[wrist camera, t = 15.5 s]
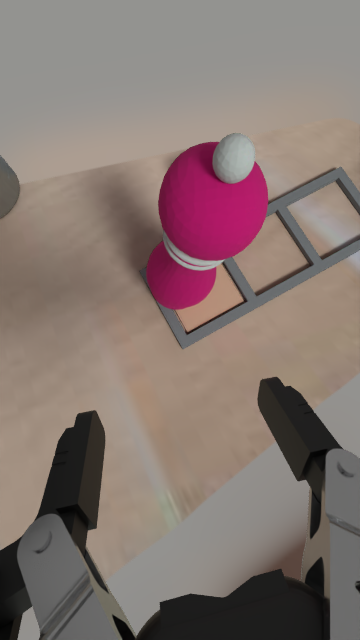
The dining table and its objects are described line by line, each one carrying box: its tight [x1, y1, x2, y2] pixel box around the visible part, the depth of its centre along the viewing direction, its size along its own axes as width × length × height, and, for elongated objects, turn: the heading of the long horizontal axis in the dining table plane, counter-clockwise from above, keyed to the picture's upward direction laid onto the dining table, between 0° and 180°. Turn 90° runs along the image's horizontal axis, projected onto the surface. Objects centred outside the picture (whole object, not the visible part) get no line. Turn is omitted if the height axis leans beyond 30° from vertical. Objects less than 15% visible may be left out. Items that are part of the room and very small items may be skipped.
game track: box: [140, 167, 360, 349], centre depth 30 cm, size 31×11×1 cm, turn 119°
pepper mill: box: [146, 133, 268, 310], centre depth 19 cm, size 7×7×20 cm
